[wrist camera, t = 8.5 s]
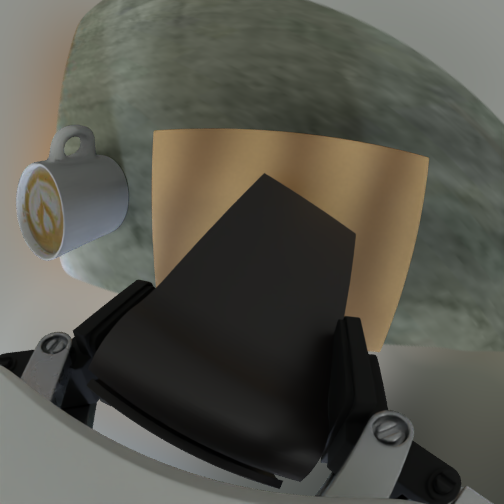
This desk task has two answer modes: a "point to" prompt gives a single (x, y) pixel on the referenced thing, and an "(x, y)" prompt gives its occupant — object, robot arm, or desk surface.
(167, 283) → the phone stand
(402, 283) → the oak board
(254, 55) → the desk surface
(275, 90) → the desk surface
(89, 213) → the coffee mug
